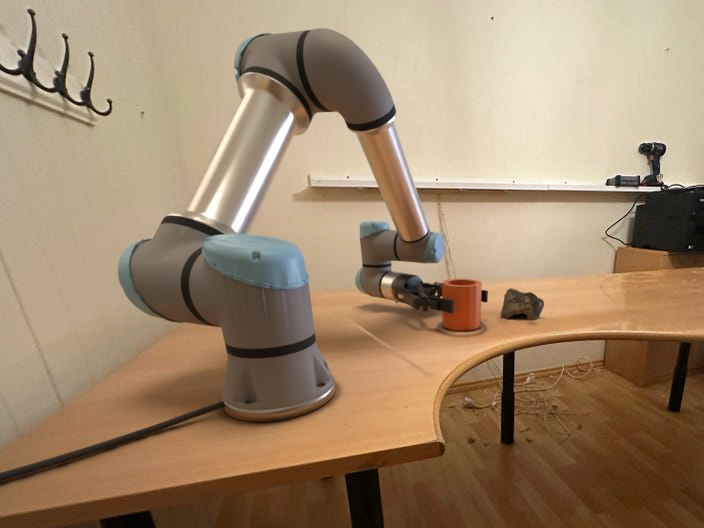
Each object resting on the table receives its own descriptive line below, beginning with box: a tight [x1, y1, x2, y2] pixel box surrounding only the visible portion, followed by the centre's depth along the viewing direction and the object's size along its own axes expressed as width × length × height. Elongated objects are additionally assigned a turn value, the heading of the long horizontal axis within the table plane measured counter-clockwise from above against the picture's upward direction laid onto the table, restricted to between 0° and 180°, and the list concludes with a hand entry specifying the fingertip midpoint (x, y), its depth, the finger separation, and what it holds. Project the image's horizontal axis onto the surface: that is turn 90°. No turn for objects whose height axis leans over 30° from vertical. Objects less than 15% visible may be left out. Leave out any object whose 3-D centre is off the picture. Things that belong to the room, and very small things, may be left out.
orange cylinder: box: [441, 278, 483, 331], centre depth 93 cm, size 9×9×10 cm
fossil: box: [500, 288, 545, 321], centre depth 102 cm, size 11×9×10 cm
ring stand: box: [438, 320, 486, 333], centre depth 93 cm, size 11×11×9 cm
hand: (470, 301), depth 91 cm, fingers open, 12 cm apart
